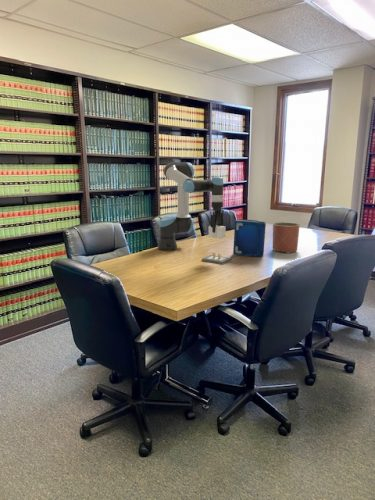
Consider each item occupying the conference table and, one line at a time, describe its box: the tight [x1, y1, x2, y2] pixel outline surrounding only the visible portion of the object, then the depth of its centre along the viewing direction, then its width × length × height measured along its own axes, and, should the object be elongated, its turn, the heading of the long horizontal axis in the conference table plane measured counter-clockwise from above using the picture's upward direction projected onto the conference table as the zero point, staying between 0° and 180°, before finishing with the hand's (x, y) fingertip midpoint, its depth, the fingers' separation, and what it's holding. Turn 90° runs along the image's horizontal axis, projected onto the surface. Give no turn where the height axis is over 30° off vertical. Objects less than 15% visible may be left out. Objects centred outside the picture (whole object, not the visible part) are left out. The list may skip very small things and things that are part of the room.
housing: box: [208, 225, 227, 239], centre depth 243 cm, size 10×6×7 cm, turn 56°
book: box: [232, 219, 267, 258], centre depth 258 cm, size 22×7×25 cm, turn 71°
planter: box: [272, 221, 300, 254], centre depth 273 cm, size 19×19×20 cm
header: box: [201, 252, 232, 265], centre depth 247 cm, size 16×12×5 cm
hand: (216, 236), depth 244 cm, fingers closed on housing, 6 cm apart
